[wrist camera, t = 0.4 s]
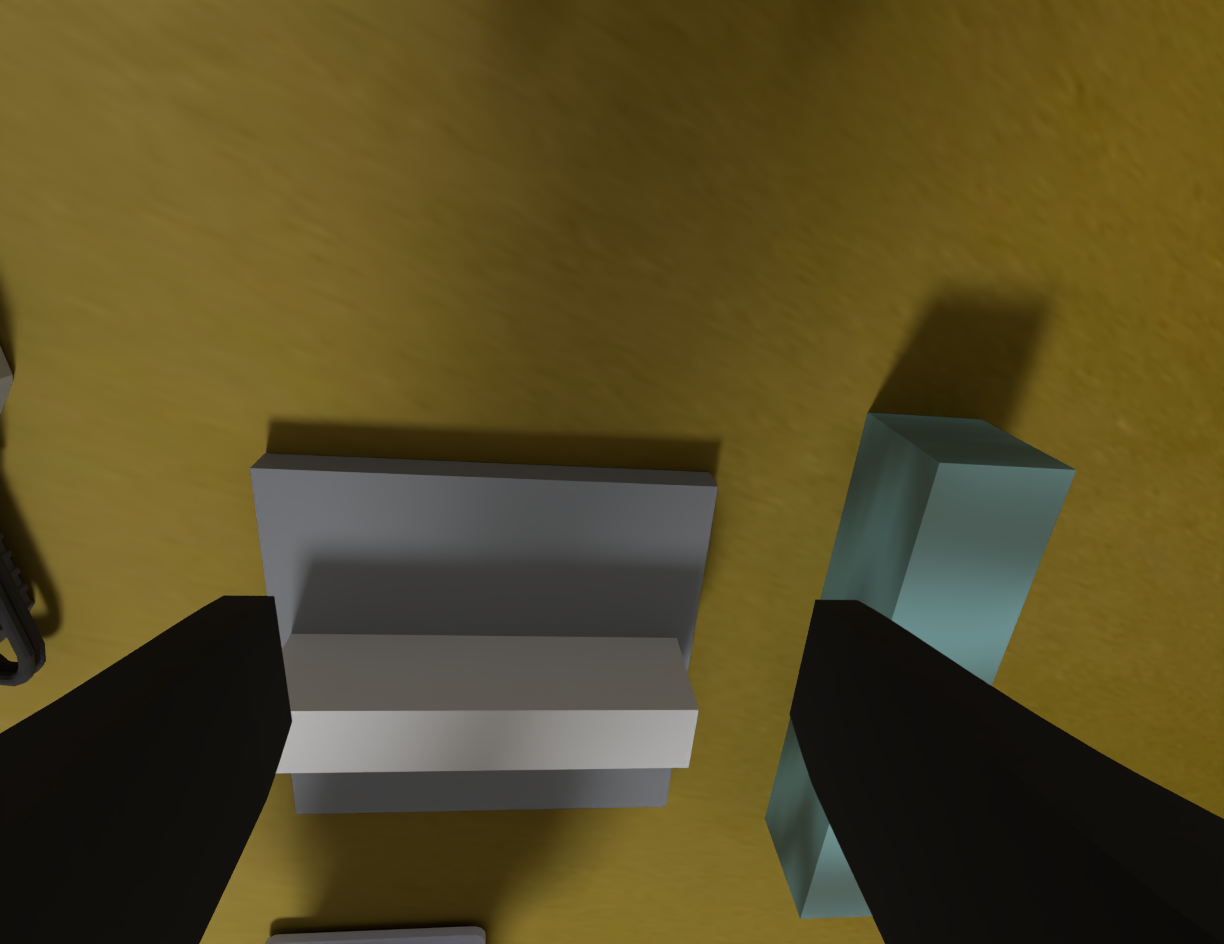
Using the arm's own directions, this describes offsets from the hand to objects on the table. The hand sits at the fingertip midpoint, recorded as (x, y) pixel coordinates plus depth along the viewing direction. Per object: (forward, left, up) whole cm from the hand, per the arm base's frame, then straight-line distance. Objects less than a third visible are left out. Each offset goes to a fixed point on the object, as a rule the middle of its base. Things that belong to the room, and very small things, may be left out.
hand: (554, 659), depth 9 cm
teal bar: (-7, -11, -10) cm, 16 cm away
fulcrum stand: (-7, +1, -10) cm, 12 cm away
